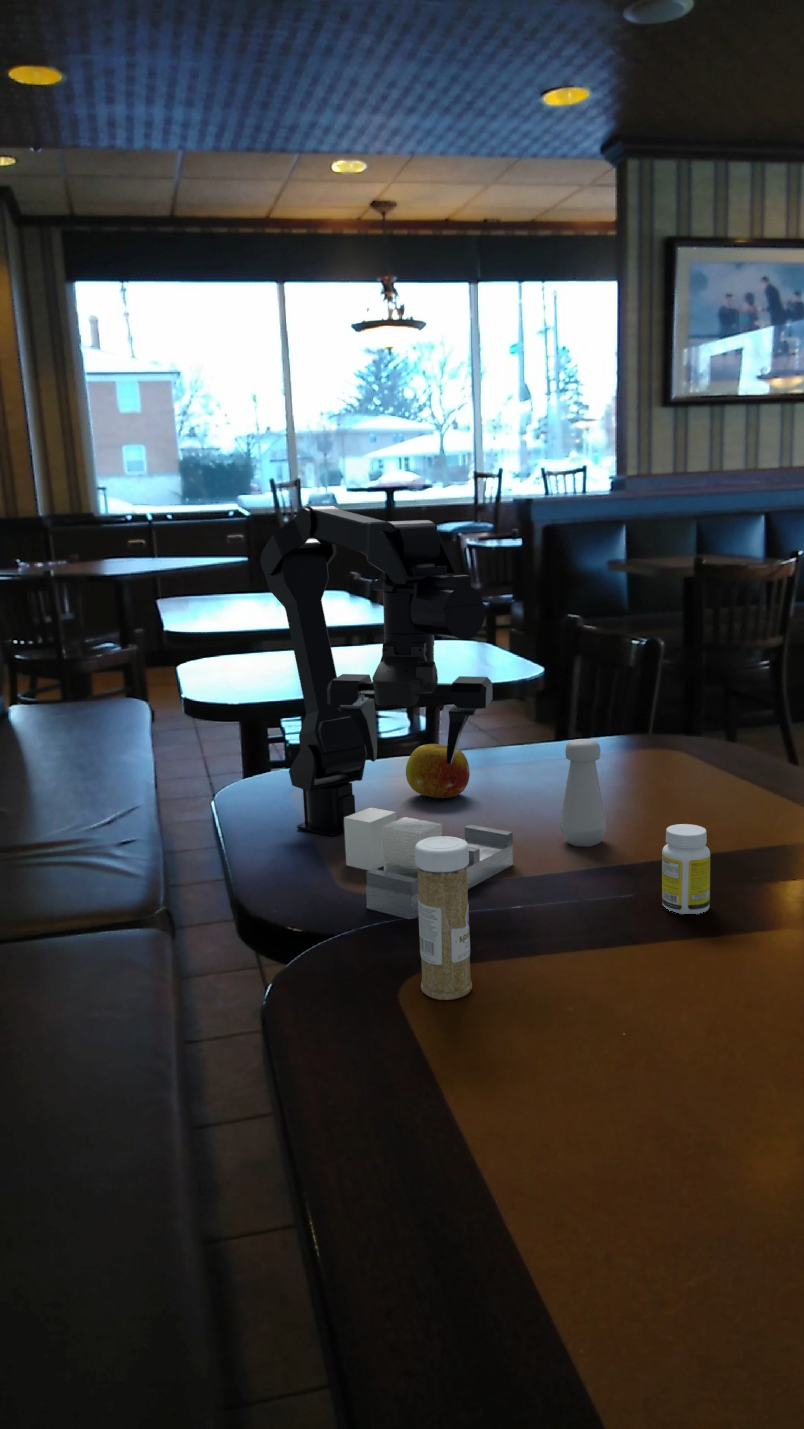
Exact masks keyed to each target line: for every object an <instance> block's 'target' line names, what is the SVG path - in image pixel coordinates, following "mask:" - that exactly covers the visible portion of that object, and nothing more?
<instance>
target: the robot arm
mask: <svg viewBox="0 0 804 1429" xmlns="http://www.w3.org/2000/svg"><path fill="white" fill-rule="evenodd" d="M337 546H339V547H342V548H345V549H349V550H352V551H354V552H355V551H356V552H358V553H361V554H363V555H364V556H365V557H366V561H367V562H368V563H369V565H371V566H373V567H375V568H376V569H378V570H379V571H381V572H382V574H381V576H380V577H379V578H377V579H376V580H375V581H374V583H373V584H372V590H374V591H378V592H379V591H381V592H382V595H383V596H382V603H383V639H384V640H383V641H384V642H382V648H381V658H380V662H379V664H378V665H377V667H376V669H375V671H374V673H373V676H372V677H371V675H370V674H367V673H366V674H361V673H359V674H357V673H356V674H355V673H342V674H340V675H339V676H337V671H336V666H335V661H334V655H333V651H332V645H331V641H330V637H329V632H328V627H327V626H328V625H327V622H326V617H325V611H324V607H323V600H322V599H323V596H324V594H325V591H326V588H327V585H328V582H329V579H330V577H329V567H328V566H329V565H330V563H331V562H332V560H334V558H335V557H336V555H337V552H338V551H337ZM446 546H447V545H445V542H444V540H443V538H442V536H441V535H440V533H439V531H438V526H437V525H436V524H435V523H434V522H433V521H431V520H427V519H421V520H418V519H417V520H395V521H394V520H392V521H390V520H389V521H385V520H381V519H377V518H373V517H370V516H366V515H361V514H359V513H354V512H350V511H347V510H343V509H340V508H338V507H335V506H334V505H307V506H305V507H303V508H300V509H299V510H298V511H297V513H296V515H295V516H294V518H293V519H292V520H291V521H289V522H288V523H286V524H285V525H284V526H282V527H281V528H279V529H278V530H276V531H275V532H274V533H273V534H272V535H271V536H270V538H269V540H268V542H267V543H266V545H265V546H264V547H263V550H262V552H261V554H260V565H261V570H262V571H263V573H264V576H265V580H266V583H267V586H268V590H269V591H270V593H271V594H272V595H273V597H275V599H276V600H277V601H278V602H279V603H280V604H281V605H282V606H283V607H284V610H285V613H286V614H285V615H286V618H287V624H288V629H289V634H290V639H291V643H292V648H293V652H294V654H293V655H294V659H295V662H296V663H295V664H296V668H297V669H296V670H297V673H298V678H299V683H300V689H301V694H302V698H303V702H304V709H305V717H304V720H303V723H302V725H301V728H300V731H299V733H298V740H299V741H298V742H299V752H298V754H297V756H296V757H295V759H294V761H293V762H292V764H291V765H290V768H289V769H288V774H289V778H290V783H291V785H292V787H295V788H298V789H300V790H302V797H303V799H302V800H303V814H304V816H303V817H304V822H302V823H299V824H297V825H296V829H297V828H298V830H300V829H301V831H305V830H306V831H307V832H310V833H311V832H312V833H315V834H320V835H325V836H331V837H332V836H336V835H338V834H341V833H344V826H343V820H344V817H347V816H349V815H352V814H355V813H356V799H355V798H356V797H355V794H353V793H354V792H353V783H352V782H357V781H358V782H360V781H363V777H364V772H365V766H366V761H367V755H368V756H369V759H370V762H373V763H375V761H377V756H378V737H377V721H376V719H377V718H376V705H377V706H379V707H380V706H381V707H386V706H388V705H389V706H390V705H392V706H393V705H394V706H395V705H396V706H402V707H413V706H416V705H417V703H418V702H419V701H420V699H421V700H450V702H451V703H452V704H453V706H452V707H451V708H450V709H449V710H448V722H449V723H448V735H447V743H446V746H447V764H448V765H450V764H451V763H452V761H453V757H454V754H455V751H456V748H458V745H459V741H460V740H461V737H462V733H463V730H464V728H465V725H466V723H467V720H468V719H469V718H470V716H475V715H476V714H477V713H478V712H479V710H481V709H487V707H488V706H489V704H490V703H491V702H492V701H493V682H492V680H491V679H490V678H489V677H488V676H471V675H469V676H467V675H466V676H465V675H464V676H462V675H461V676H458V677H457V678H455V680H453V681H452V682H451V683H447V682H446V683H445V682H443V683H441V682H440V683H439V676H438V670H437V665H436V662H435V656H434V655H435V647H434V646H435V636H438V637H446V638H451V639H460V640H468V639H472V638H473V637H474V636H476V635H477V634H478V633H479V631H480V630H481V629H482V627H483V625H484V622H485V618H486V612H487V610H486V605H485V603H484V601H483V600H484V599H483V598H482V596H481V594H480V593H479V591H478V590H476V589H475V588H474V587H472V586H471V585H472V584H471V581H472V580H471V576H470V575H467V574H459V571H458V570H457V568H456V566H457V565H456V563H455V561H454V560H453V559H452V557H451V554H450V553H449V551H448V548H447V547H446ZM306 831H305V832H306Z"/></svg>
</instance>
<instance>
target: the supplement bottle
mask: <svg viewBox="0 0 804 1429" xmlns="http://www.w3.org/2000/svg"><path fill="white" fill-rule="evenodd" d="M707 840H708V839H707V829H706V828H705V827H702V826H700V825H697V824H690V823H682V824H680V823H679V824H672V825H670V826H668V827H667V828H666V831H665V843H666V844H665V845H664V846H663V848H662V851H661V852H662V853H661V860H662V861H661V883H662V884H661V889H662V890H661V903H662V906H664V907H665V908H666V909H668V910H669V911H668V910H667V911H668V912H670V911H673V912H676V913H679V915H684V914H696V915H701V914H704V913H706V912H707V911H709V909H710V906H711V905H710V904H711V900H710V899H711V851H710V848H708V846H706V845H707ZM664 907H663V908H664ZM665 908H664V909H665ZM666 909H665V910H666ZM673 912H672V913H673ZM703 912H704V913H703ZM676 913H675V914H676ZM700 913H701V914H700Z"/></svg>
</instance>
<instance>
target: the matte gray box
mask: <svg viewBox="0 0 804 1429" xmlns="http://www.w3.org/2000/svg"><path fill="white" fill-rule="evenodd" d="M396 820H397V812H396V811H391V810H386V809H380V808H375V807H372V806H371V807H368V808H365V809H363V810H360V811H358V812H355V814H352V815H349V816H347V817H344V820H343V826H344V831H343V844H344V846H343V847H344V852H345V864H346V866H347V867H348V866H349V867H353V868H356V869H361V870H365V871H370V870H372V869H377V870H379V869H380V868H381V867H384V864H383V841H382V826H384V825H386V824H389V823H391V822H394V821H396Z"/></svg>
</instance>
